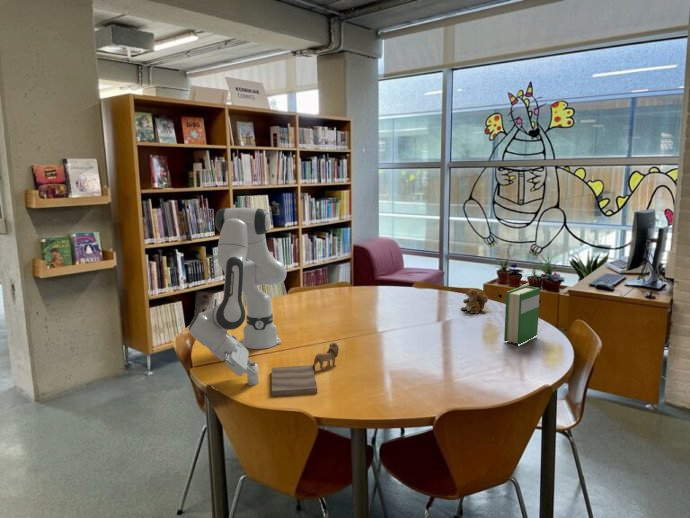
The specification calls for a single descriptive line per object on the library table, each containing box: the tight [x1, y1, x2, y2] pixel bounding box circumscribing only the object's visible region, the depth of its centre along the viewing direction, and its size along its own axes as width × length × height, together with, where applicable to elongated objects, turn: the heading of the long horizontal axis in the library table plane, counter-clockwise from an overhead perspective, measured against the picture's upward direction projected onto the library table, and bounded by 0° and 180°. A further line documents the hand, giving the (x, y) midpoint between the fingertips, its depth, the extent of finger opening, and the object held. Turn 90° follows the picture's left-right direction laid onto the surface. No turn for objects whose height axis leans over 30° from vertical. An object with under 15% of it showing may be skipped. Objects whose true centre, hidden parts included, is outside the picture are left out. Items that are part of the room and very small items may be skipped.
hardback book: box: [503, 285, 541, 345], centre depth 232 cm, size 18×7×24 cm, turn 134°
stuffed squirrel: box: [460, 288, 489, 314], centre depth 283 cm, size 10×14×13 cm
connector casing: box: [246, 361, 259, 386], centre depth 187 cm, size 4×4×8 cm
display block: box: [271, 364, 318, 397], centre depth 188 cm, size 22×16×2 cm
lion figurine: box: [312, 342, 339, 373], centre depth 202 cm, size 15×5×9 cm, turn 142°
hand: (254, 371), depth 187 cm, fingers closed on connector casing, 4 cm apart
